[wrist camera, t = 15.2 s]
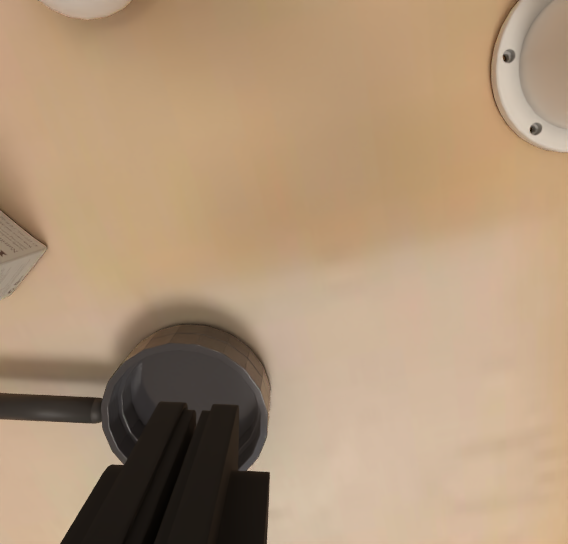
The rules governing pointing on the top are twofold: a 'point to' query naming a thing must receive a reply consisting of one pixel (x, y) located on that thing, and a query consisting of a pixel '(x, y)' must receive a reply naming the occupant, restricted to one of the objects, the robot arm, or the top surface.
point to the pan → (187, 386)
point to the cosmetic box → (16, 254)
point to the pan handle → (50, 408)
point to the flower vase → (86, 7)
